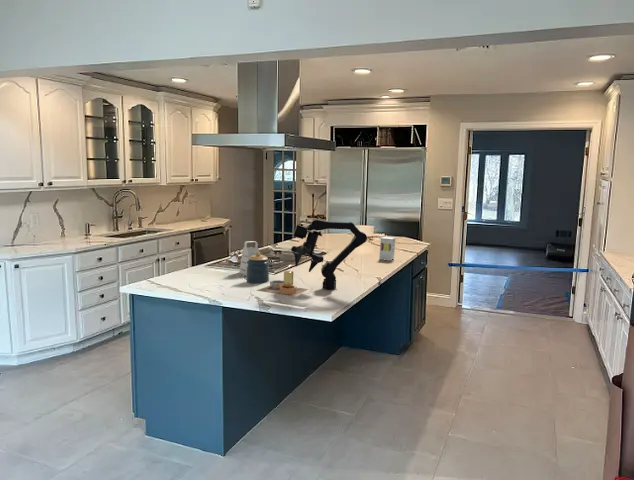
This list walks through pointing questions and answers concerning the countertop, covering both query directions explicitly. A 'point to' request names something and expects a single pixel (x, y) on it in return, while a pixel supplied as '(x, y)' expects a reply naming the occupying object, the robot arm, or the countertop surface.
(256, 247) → the grater
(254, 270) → the canister
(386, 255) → the supplement box
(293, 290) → the ring
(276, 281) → the steel stand collar
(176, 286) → the countertop surface
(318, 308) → the countertop surface
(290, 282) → the brass shaft
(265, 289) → the walnut board
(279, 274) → the countertop surface
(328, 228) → the robot arm
